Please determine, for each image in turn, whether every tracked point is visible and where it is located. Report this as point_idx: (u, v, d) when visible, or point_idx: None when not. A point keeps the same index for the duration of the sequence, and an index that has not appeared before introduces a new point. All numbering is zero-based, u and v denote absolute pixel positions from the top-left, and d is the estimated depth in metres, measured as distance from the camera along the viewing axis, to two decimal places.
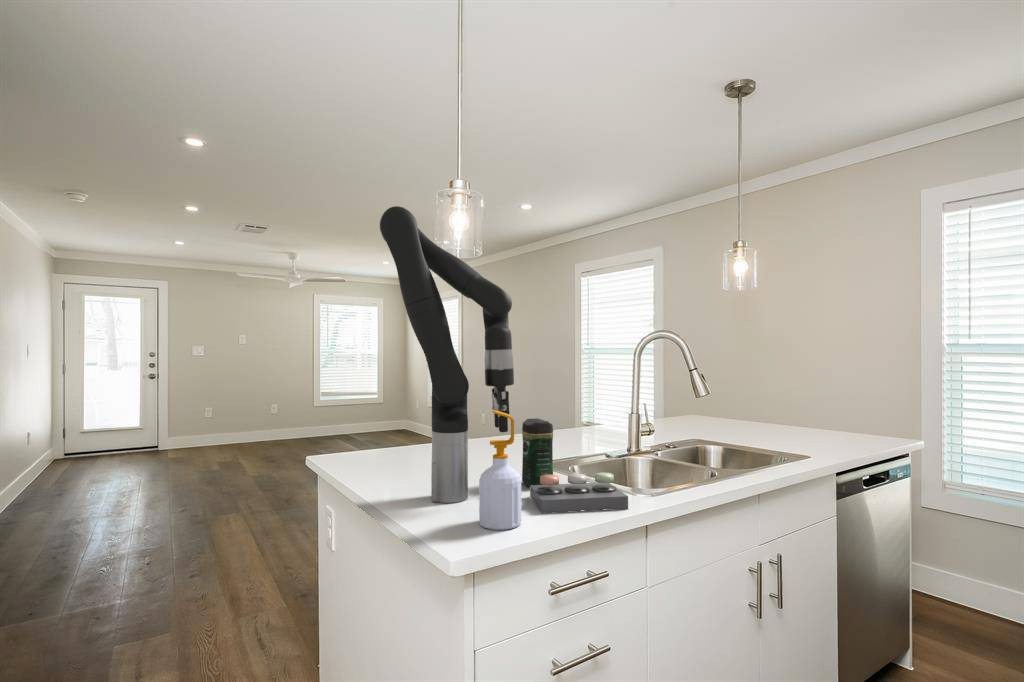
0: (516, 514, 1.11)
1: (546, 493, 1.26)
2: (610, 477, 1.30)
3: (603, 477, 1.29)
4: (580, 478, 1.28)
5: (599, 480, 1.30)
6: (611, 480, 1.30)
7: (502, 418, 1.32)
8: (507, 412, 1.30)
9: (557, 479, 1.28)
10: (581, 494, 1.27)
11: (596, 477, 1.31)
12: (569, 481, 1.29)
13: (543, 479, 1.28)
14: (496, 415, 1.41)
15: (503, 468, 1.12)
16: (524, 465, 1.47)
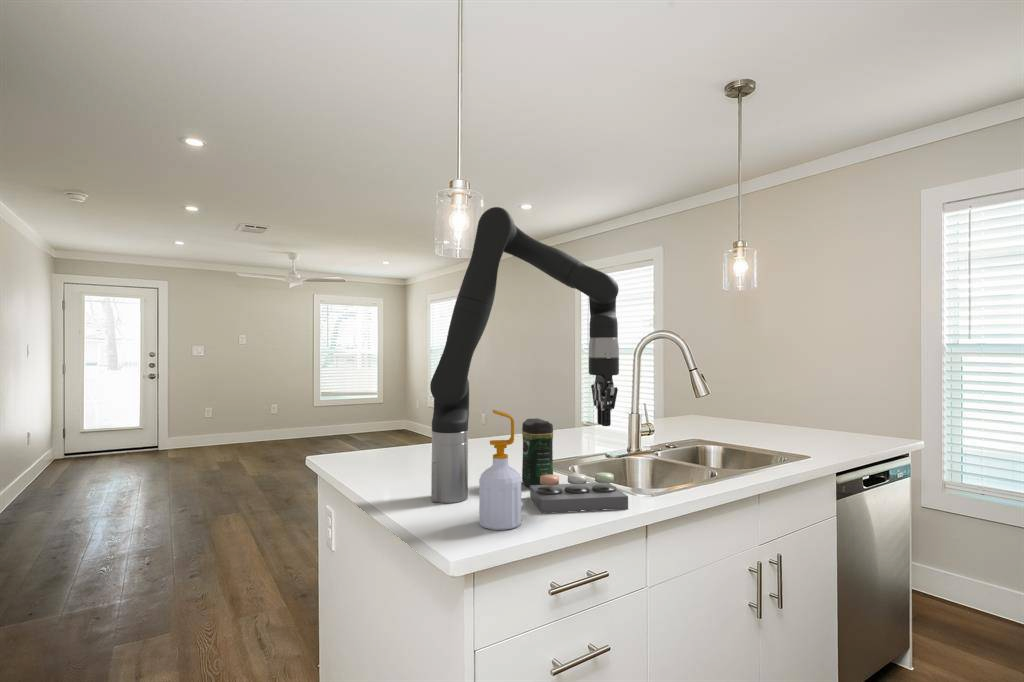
0: (516, 514, 1.11)
1: (546, 493, 1.26)
2: (610, 477, 1.30)
3: (603, 477, 1.29)
4: (580, 478, 1.28)
5: (599, 480, 1.30)
6: (611, 480, 1.30)
7: (606, 412, 1.29)
8: (612, 406, 1.28)
9: (557, 479, 1.28)
10: (581, 494, 1.27)
11: (596, 477, 1.31)
12: (569, 481, 1.29)
13: (543, 479, 1.28)
14: (600, 411, 1.33)
15: (503, 468, 1.12)
16: (524, 465, 1.47)
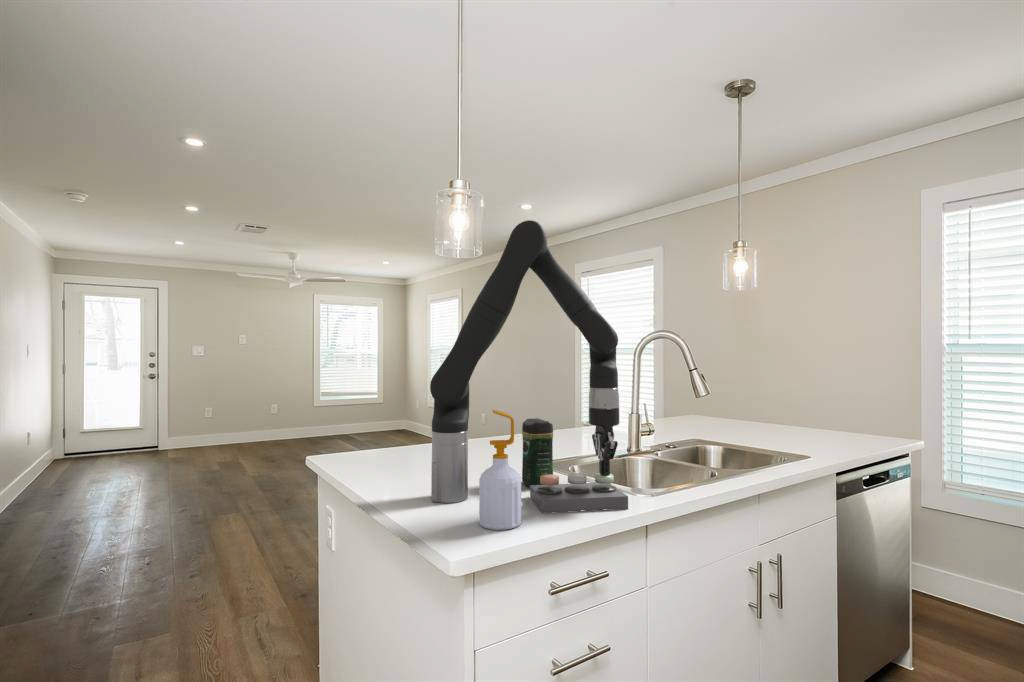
0: (516, 514, 1.11)
1: (546, 493, 1.26)
2: (610, 478, 1.30)
3: (603, 478, 1.29)
4: (580, 478, 1.28)
5: (599, 481, 1.30)
6: (611, 481, 1.30)
7: (605, 462, 1.30)
8: (611, 456, 1.29)
9: (557, 479, 1.28)
10: (581, 494, 1.27)
11: (596, 478, 1.31)
12: (569, 481, 1.29)
13: (543, 479, 1.28)
14: None
15: (503, 468, 1.12)
16: (524, 465, 1.47)
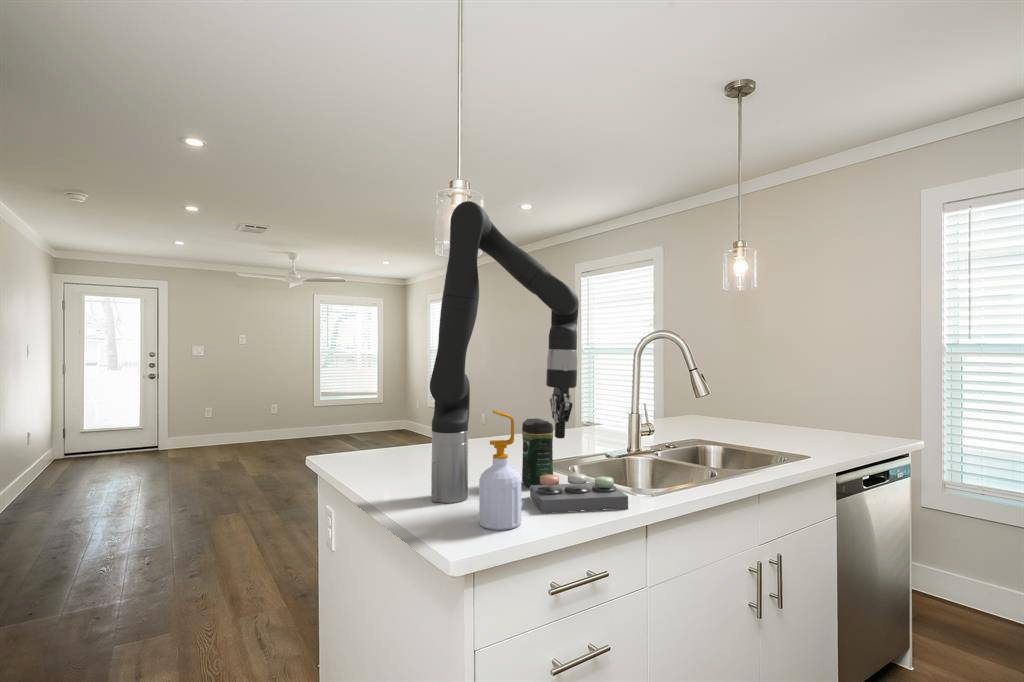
0: (516, 514, 1.11)
1: (546, 493, 1.26)
2: (610, 481, 1.30)
3: (603, 481, 1.29)
4: (580, 478, 1.28)
5: (599, 484, 1.30)
6: (611, 484, 1.30)
7: (560, 424, 1.29)
8: (566, 418, 1.27)
9: (557, 479, 1.28)
10: (581, 494, 1.27)
11: (596, 481, 1.31)
12: (569, 481, 1.29)
13: (543, 479, 1.28)
14: None
15: (503, 468, 1.12)
16: (524, 465, 1.47)
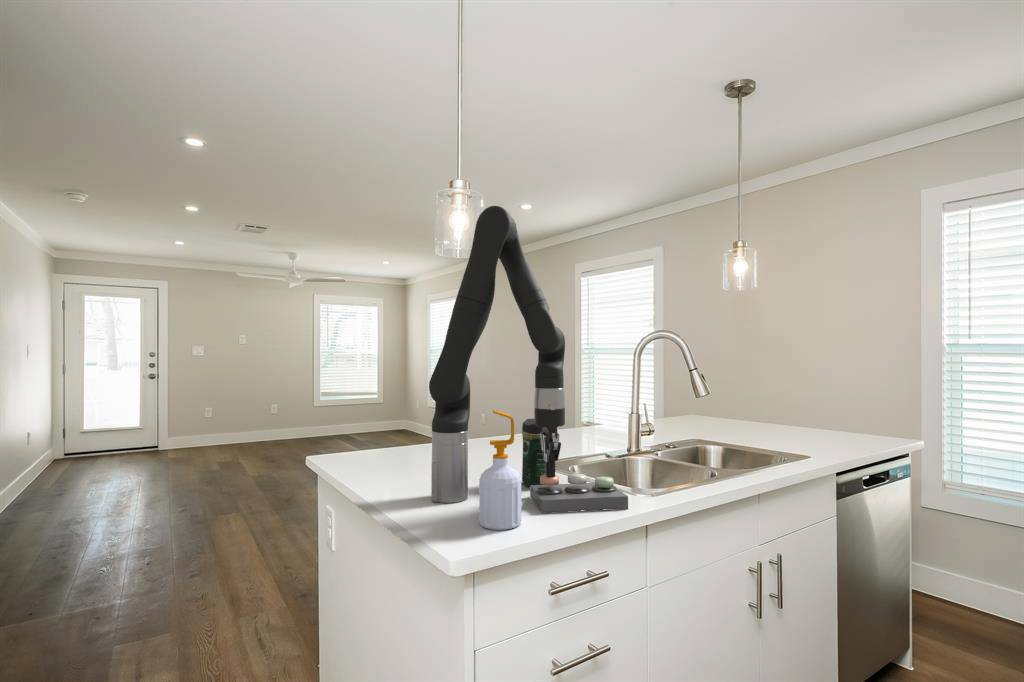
0: (516, 514, 1.11)
1: (546, 493, 1.26)
2: (610, 481, 1.30)
3: (603, 481, 1.29)
4: (580, 478, 1.28)
5: (599, 484, 1.30)
6: (611, 484, 1.30)
7: (550, 463, 1.28)
8: (556, 457, 1.26)
9: (557, 479, 1.28)
10: (581, 494, 1.27)
11: (596, 481, 1.31)
12: (569, 481, 1.29)
13: (543, 479, 1.28)
14: None
15: (503, 468, 1.12)
16: (524, 465, 1.47)
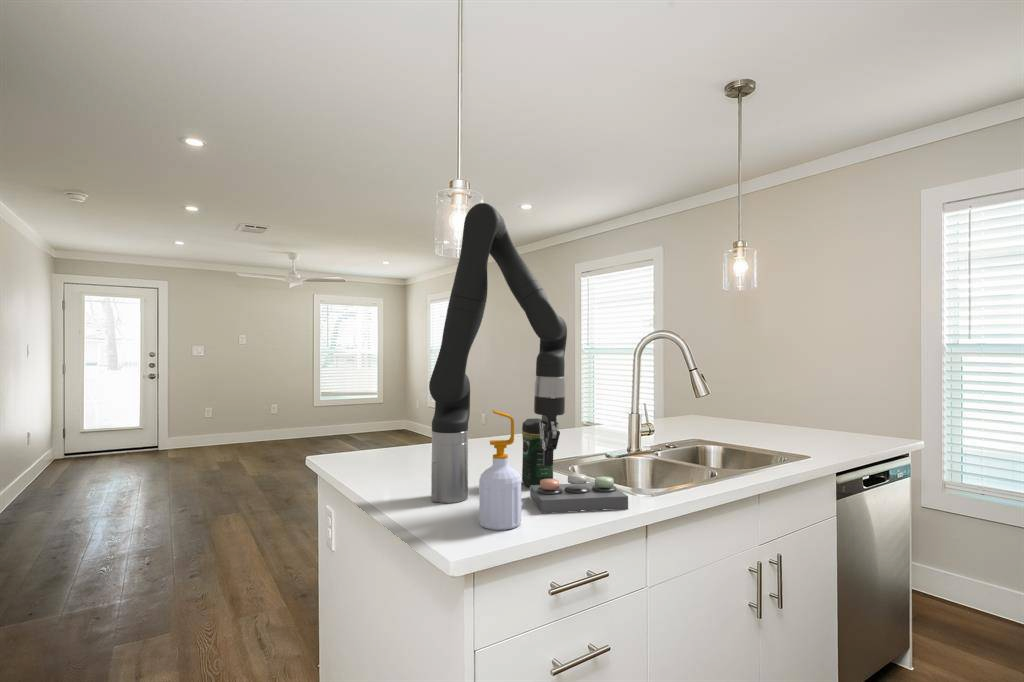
0: (516, 514, 1.11)
1: (546, 493, 1.26)
2: (610, 481, 1.30)
3: (603, 481, 1.29)
4: (580, 478, 1.28)
5: (599, 484, 1.30)
6: (611, 484, 1.30)
7: (548, 452, 1.28)
8: (554, 446, 1.26)
9: (557, 483, 1.28)
10: (581, 494, 1.27)
11: (596, 481, 1.31)
12: (569, 481, 1.29)
13: (543, 483, 1.28)
14: None
15: (503, 468, 1.12)
16: (524, 465, 1.47)
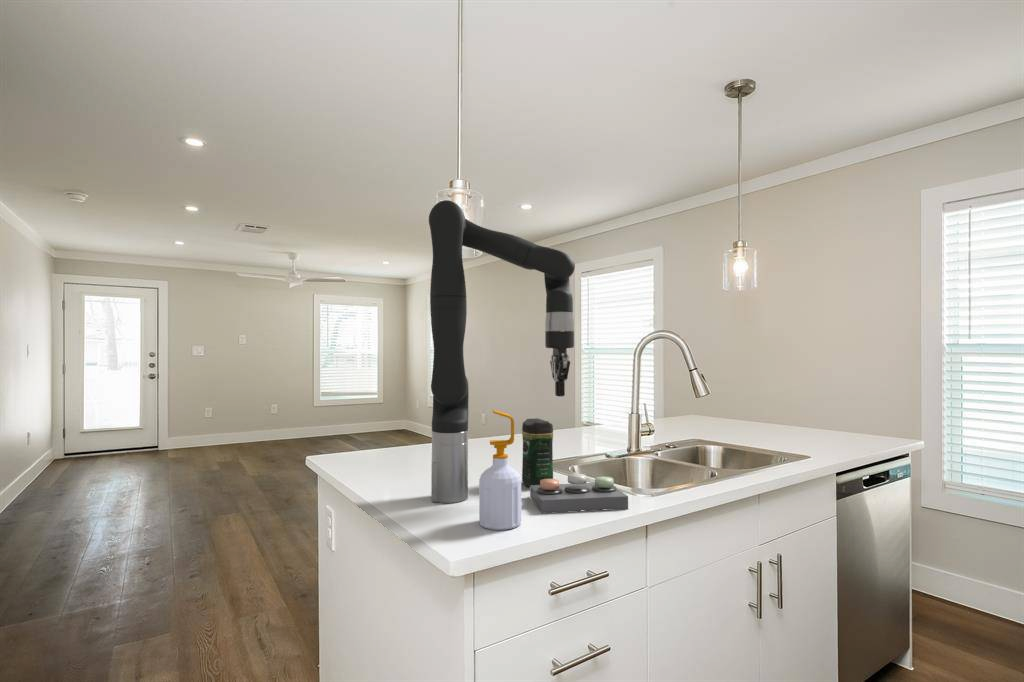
0: (516, 514, 1.11)
1: (546, 493, 1.26)
2: (610, 481, 1.30)
3: (603, 481, 1.29)
4: (580, 478, 1.28)
5: (599, 484, 1.30)
6: (611, 484, 1.30)
7: (560, 382, 1.37)
8: (565, 376, 1.35)
9: (557, 483, 1.28)
10: (581, 494, 1.27)
11: (596, 481, 1.31)
12: (569, 481, 1.29)
13: (543, 483, 1.28)
14: None
15: (503, 468, 1.12)
16: (524, 465, 1.47)
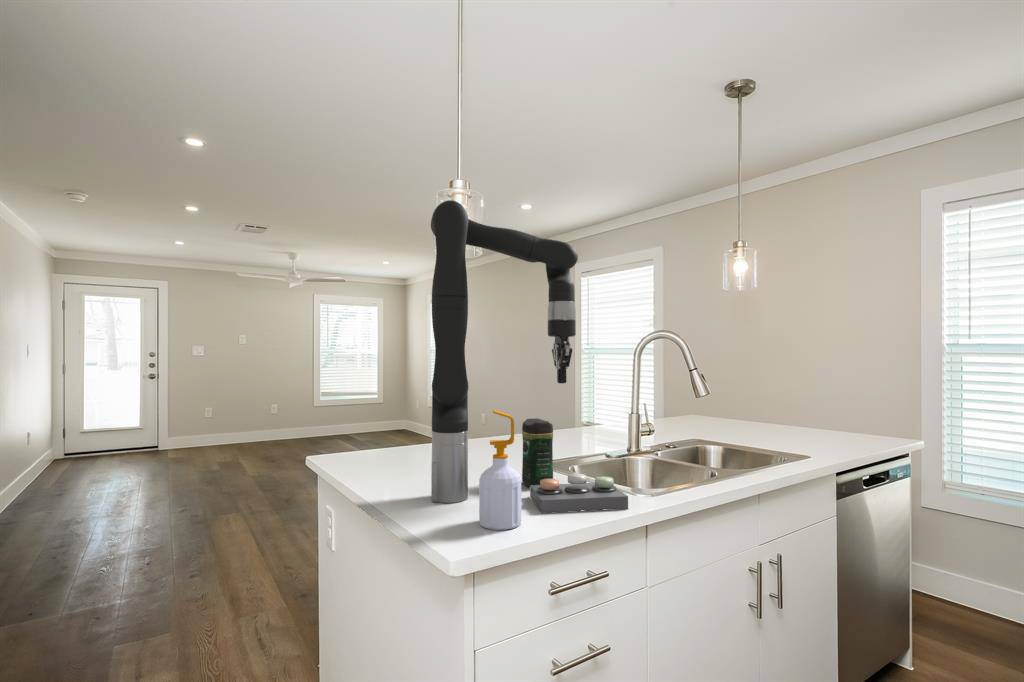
0: (516, 514, 1.11)
1: (546, 493, 1.26)
2: (610, 481, 1.30)
3: (603, 481, 1.29)
4: (580, 478, 1.28)
5: (599, 484, 1.30)
6: (611, 484, 1.30)
7: (562, 370, 1.40)
8: (567, 364, 1.39)
9: (557, 483, 1.28)
10: (581, 494, 1.27)
11: (596, 481, 1.31)
12: (569, 481, 1.29)
13: (543, 483, 1.28)
14: None
15: (503, 468, 1.12)
16: (524, 465, 1.47)
